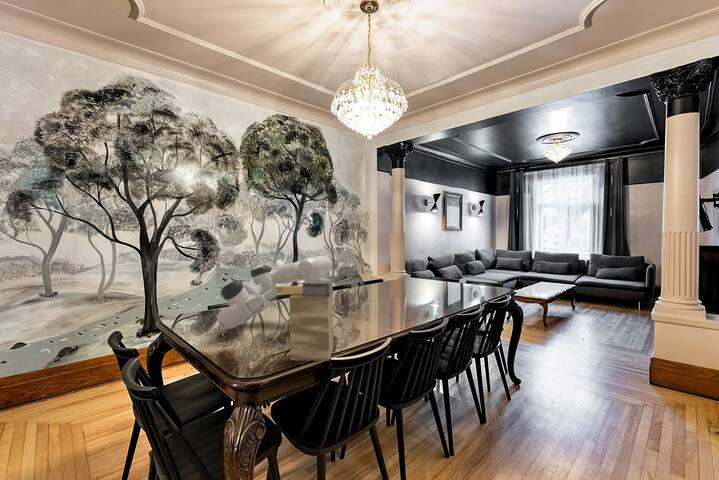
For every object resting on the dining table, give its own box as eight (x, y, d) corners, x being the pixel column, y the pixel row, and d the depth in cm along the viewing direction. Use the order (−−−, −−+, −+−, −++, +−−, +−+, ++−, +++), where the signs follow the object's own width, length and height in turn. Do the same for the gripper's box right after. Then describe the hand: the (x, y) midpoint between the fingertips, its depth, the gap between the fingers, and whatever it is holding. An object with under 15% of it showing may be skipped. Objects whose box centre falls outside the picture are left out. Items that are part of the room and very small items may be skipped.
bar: (273, 292, 139) (273, 285, 139) (328, 293, 137) (328, 286, 137) (271, 294, 136) (271, 287, 136) (327, 294, 134) (327, 287, 134)
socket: (307, 292, 140) (306, 280, 140) (332, 292, 139) (332, 280, 139) (302, 296, 132) (302, 283, 132) (329, 296, 132) (329, 283, 132)
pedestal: (297, 349, 143) (297, 291, 143) (333, 350, 142) (332, 291, 142) (290, 360, 131) (289, 297, 131) (328, 360, 130) (328, 297, 130)
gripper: (265, 305, 148) (290, 291, 147) (247, 317, 128) (276, 300, 127) (258, 293, 148) (283, 279, 147) (239, 303, 128) (268, 286, 127)
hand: (280, 289), depth 137 cm, fingers open, 8 cm apart
